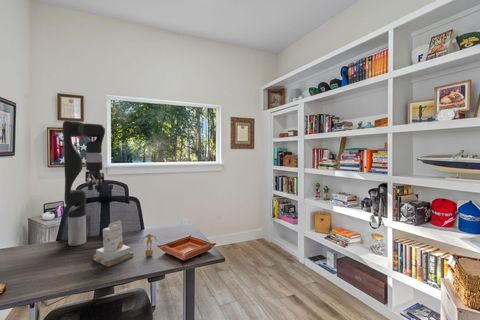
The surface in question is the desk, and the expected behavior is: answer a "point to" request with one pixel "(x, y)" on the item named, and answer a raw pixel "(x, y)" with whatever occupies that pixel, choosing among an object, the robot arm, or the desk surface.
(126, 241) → the desk surface
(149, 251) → the figurine
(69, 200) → the robot arm
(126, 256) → the birch base slab
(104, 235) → the ink cartridge box
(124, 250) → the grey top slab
